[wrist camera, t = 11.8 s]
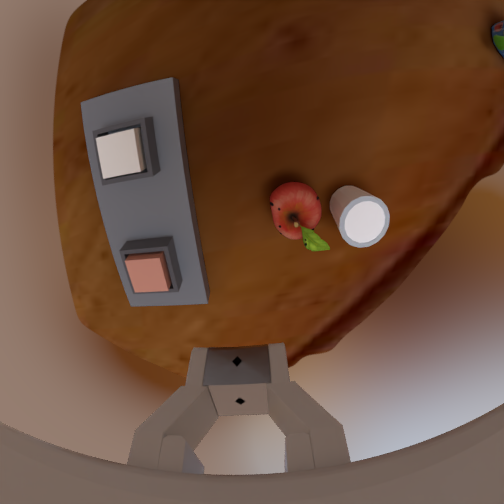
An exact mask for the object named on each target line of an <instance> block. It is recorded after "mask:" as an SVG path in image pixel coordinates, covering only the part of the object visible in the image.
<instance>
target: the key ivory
mask: <svg viewBox="0 0 504 504" xmlns="http://www.w3.org/2000/svg"><path fill="white" fill-rule="evenodd" d="M96 142H97V148H98V154H99V160H100V165H101V170H102V175H103V179H105V178H110V177H115V176H120V175H125V174H130V173H136V172H141V171H142V170H144V169H146V168H147V165H146V159H145V153H144V147H143V140H142V133H141V127H139V128H134V129H130V130H125V131H121V132H117V133H113V134H109V135H106V136H102V137H98V138H96Z"/></svg>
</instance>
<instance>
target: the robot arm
mask: <svg viewBox="0 0 504 504" xmlns="http://www.w3.org/2000/svg"><path fill="white" fill-rule="evenodd" d="M268 348H269V349H268ZM257 414H258V415H259V414H269V416H270V417H271V418H272V420H273V421H274V422H275V423H276V425H277V426H278V427H279V428H280V429H281V431H282V432H283V433H284V435H285V436H286V438H285V473H273V474H256V475H211V474H204V466H203V464H202V463H201V461H200V460H199V459H198V457H197V456H196V454H195V453H194V450H195V448H196V447H197V446H198V444H199V443H200V442H201V440H202V439H203V438H204V436H205V435H206V434H207V432H208V431H209V430H210V428H211V427H212V426H213V424H214V423H215V421H216V420H217V419H218V416H233V415H257ZM0 504H504V403H503V404H502V405H500V406H498V407H497V408H495V409H493V410H491V411H489V412H488V413H486V414H484V415H482V416H480V417H478V418H476V419H474V420H472V421H470V422H468V423H466V424H464V425H462V426H460V427H457V428H455V429H453V430H451V431H448V432H446V433H444V434H441V435H439V436H436V437H434V438H431V439H429V440H426V441H423V442H421V443H418V444H415V445H412V446H409V447H406V448H403V449H400V450H397V451H393V452H390V453H387V454H383V455H380V456H376V457H372V458H368V459H364V460H360V461H355V462H351V461H350V456H349V452H348V447H347V443H346V439H345V434H344V430H343V426H342V425H341V424H340V423H339V422H338V421H337V420H336V419H335V418H333V416H331V415H330V414H329V413H328V412H327V411H326V410H325V409H324V408H323V407H321V406H320V405H319V404H318V403H317V402H316V401H315V400H314V399H313V398H311V396H310V395H308V394H307V393H306V392H305V391H304V390H303V389H302V388H301V387H300V386H299V385H298V384H297V383H296V382H295V381H291V382H290V379H289V372H288V365H287V357H286V350H285V345H284V343H277V344H269V345H268V344H265V345H253V346H239V347H209V348H193V350H192V353H191V358H190V363H189V369H188V374H187V380H186V385H185V386H181V387H180V388H179V389H178V390H177V391H176V392H174V393H173V394H172V395H171V396H170V397H169V398H168V399H167V400H166V401H165V402H164V403H163V404H162V405H161V406H160V407H159V408H158V409H157V410H156V411H155V412H154V413H153V414H152V415H151V416H150V417H149V418H148V419H146V421H144V422H143V423H142V424H141V425H140V426H139V427H138V428H137V429H136V430H135V433H134V438H133V441H132V445H131V450H130V454H129V458H128V462H127V465H126V464H121V463H116V462H112V461H108V460H103V459H99V458H95V457H92V456H88V455H84V454H81V453H78V452H74V451H71V450H68V449H65V448H62V447H59V446H56V445H53V444H50V443H48V442H45V441H42V440H40V439H38V438H35V437H33V436H30V435H28V434H25V433H23V432H21V431H18V430H16V429H14V428H12V427H10V426H8V425H6V424H4V423H2V422H0Z"/></svg>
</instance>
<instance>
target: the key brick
mask: <svg viewBox="0 0 504 504" xmlns="http://www.w3.org/2000/svg"><path fill="white" fill-rule="evenodd" d="M125 263H126V267H127V270H128V273H129V276H130V279H131V282H132V285H133V288H134V291H135V292H158V291H169V288H170V286H171V283H172V281H171V277H170V273H169V269H168V265H167V261H166V257H165V253H164V251H157V252H146V253H134V254H129V255H128V257H127V258H126V260H125Z"/></svg>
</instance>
